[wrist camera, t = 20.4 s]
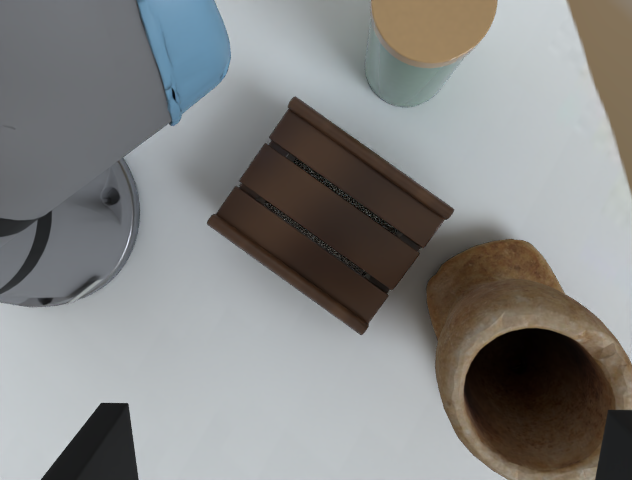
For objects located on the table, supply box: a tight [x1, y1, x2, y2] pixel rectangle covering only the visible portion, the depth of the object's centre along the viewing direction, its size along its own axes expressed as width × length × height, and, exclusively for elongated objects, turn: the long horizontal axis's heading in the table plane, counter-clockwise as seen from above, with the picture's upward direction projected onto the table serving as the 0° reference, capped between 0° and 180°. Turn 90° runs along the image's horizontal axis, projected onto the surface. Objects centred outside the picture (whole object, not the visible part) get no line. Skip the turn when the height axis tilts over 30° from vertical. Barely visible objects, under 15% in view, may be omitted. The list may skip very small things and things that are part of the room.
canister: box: [365, 0, 497, 107], centre depth 30 cm, size 7×7×11 cm
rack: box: [207, 97, 454, 335], centre depth 34 cm, size 13×10×6 cm
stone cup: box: [426, 239, 632, 480], centre depth 29 cm, size 15×12×15 cm
